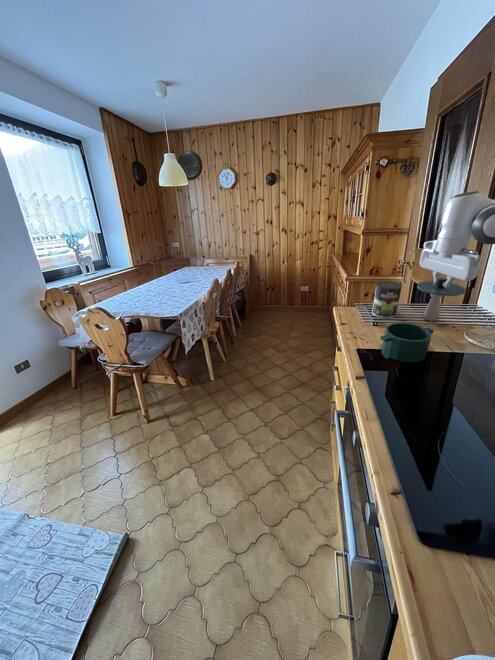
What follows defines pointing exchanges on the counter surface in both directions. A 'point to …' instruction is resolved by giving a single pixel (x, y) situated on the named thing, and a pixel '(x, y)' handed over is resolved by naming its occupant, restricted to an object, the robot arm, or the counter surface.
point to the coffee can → (386, 299)
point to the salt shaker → (433, 308)
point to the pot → (406, 342)
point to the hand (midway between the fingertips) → (441, 285)
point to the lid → (441, 288)
